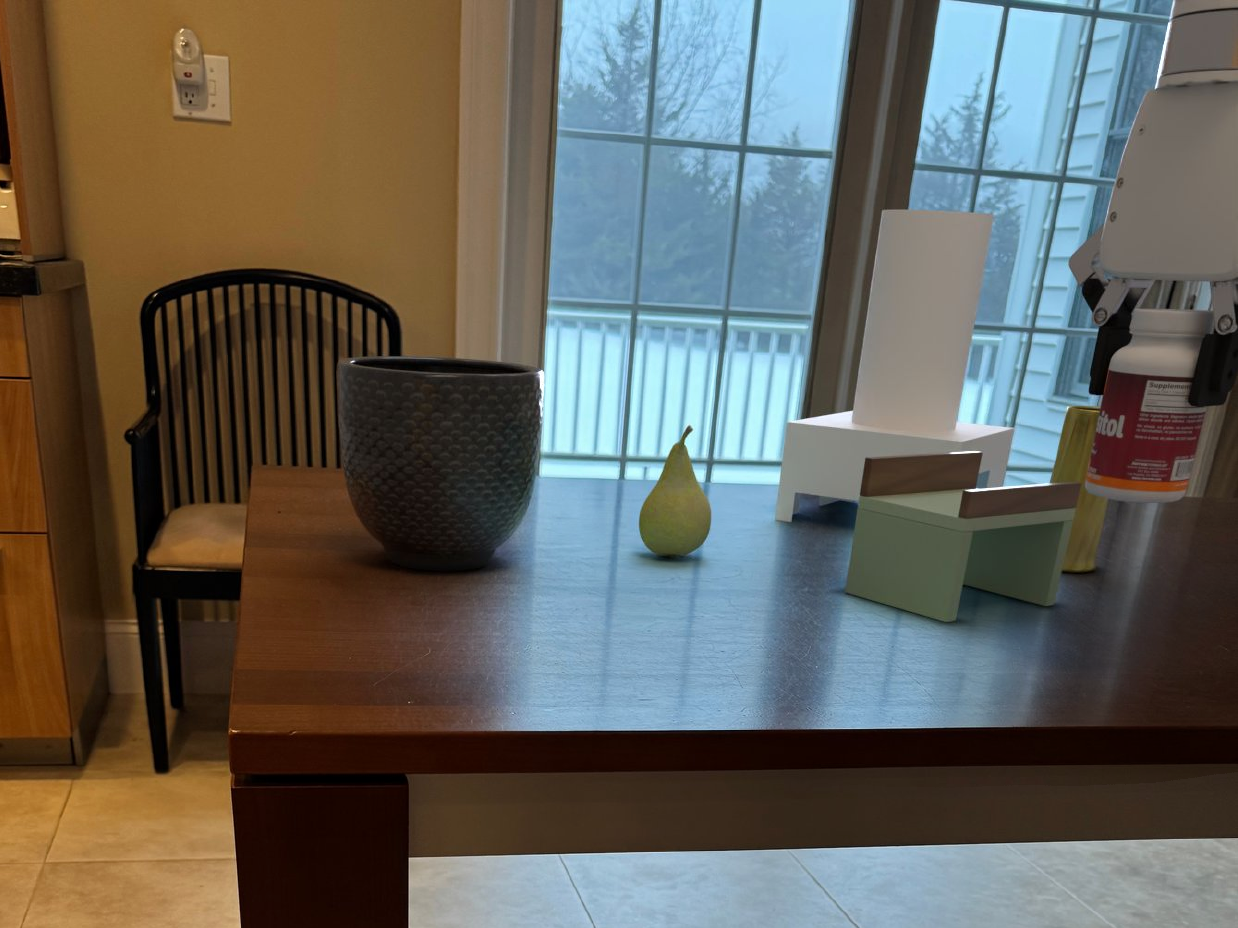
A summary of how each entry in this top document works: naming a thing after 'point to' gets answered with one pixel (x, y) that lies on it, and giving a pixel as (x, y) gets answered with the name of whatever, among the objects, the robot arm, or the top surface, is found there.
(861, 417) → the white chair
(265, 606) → the top surface
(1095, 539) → the vase
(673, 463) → the fruit
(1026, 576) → the stand
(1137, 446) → the pill bottle
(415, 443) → the planter
